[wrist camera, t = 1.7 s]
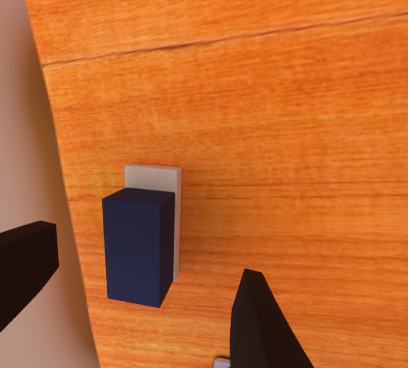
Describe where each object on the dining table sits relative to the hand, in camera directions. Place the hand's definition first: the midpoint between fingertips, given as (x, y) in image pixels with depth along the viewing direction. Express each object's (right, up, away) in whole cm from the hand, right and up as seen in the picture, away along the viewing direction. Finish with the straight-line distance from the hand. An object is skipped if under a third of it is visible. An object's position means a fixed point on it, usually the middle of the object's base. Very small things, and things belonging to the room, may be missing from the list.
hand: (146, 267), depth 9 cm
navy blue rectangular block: (-2, 0, +10) cm, 10 cm away
